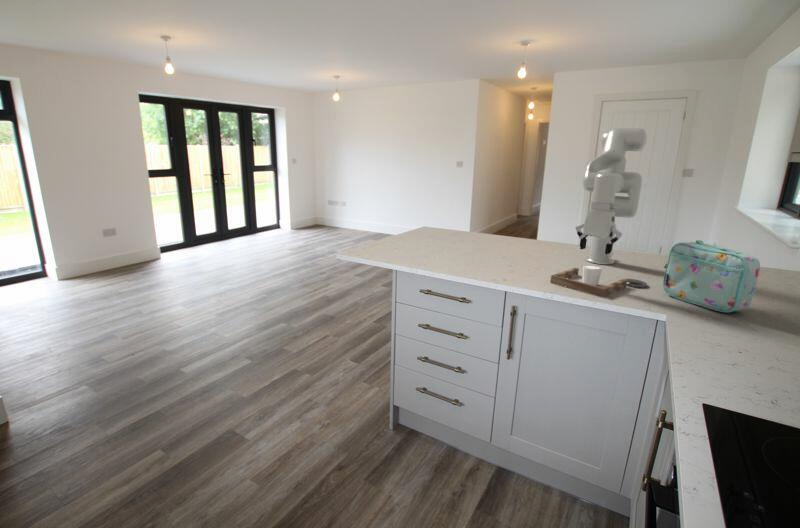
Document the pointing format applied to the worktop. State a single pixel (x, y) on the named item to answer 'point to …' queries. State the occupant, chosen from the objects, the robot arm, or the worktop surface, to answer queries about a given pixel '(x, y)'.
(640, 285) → the dark grey round dish
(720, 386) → the worktop surface
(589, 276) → the white cup
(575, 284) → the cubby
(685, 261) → the lunch box
